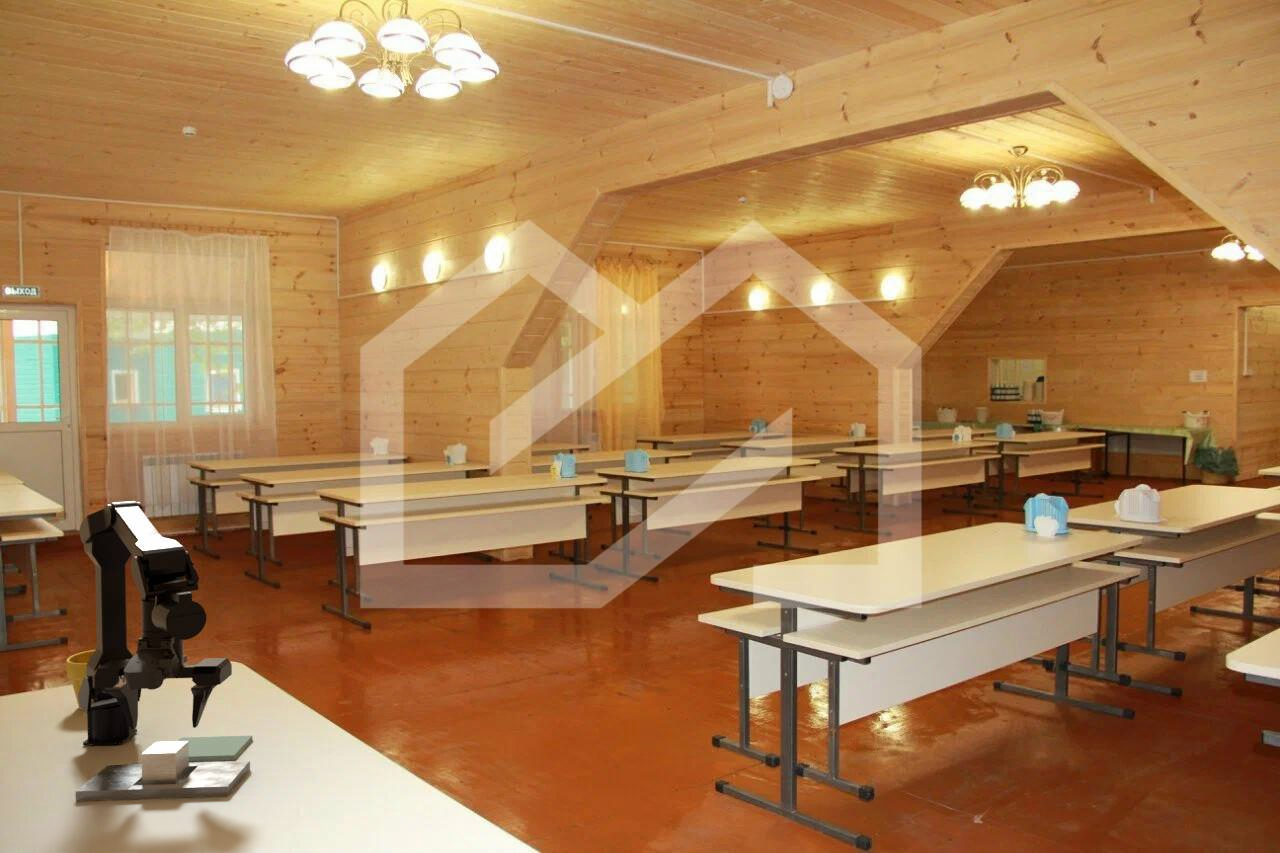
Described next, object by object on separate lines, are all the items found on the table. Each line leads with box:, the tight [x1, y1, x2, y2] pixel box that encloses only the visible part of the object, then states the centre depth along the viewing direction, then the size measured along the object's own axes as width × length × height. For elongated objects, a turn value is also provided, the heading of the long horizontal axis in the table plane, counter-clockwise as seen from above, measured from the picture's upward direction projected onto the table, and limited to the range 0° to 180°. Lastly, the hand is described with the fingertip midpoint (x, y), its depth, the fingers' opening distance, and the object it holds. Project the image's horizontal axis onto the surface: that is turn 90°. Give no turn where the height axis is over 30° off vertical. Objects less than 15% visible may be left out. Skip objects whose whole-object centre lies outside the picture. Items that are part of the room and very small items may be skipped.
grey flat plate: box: [75, 760, 251, 802], centre depth 149 cm, size 22×10×2 cm, turn 94°
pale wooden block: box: [140, 740, 190, 785], centre depth 149 cm, size 5×5×6 cm
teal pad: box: [177, 735, 253, 762], centre depth 163 cm, size 12×9×1 cm
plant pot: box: [65, 649, 96, 711], centre depth 186 cm, size 10×10×10 cm
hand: (164, 727), depth 149 cm, fingers open, 9 cm apart
